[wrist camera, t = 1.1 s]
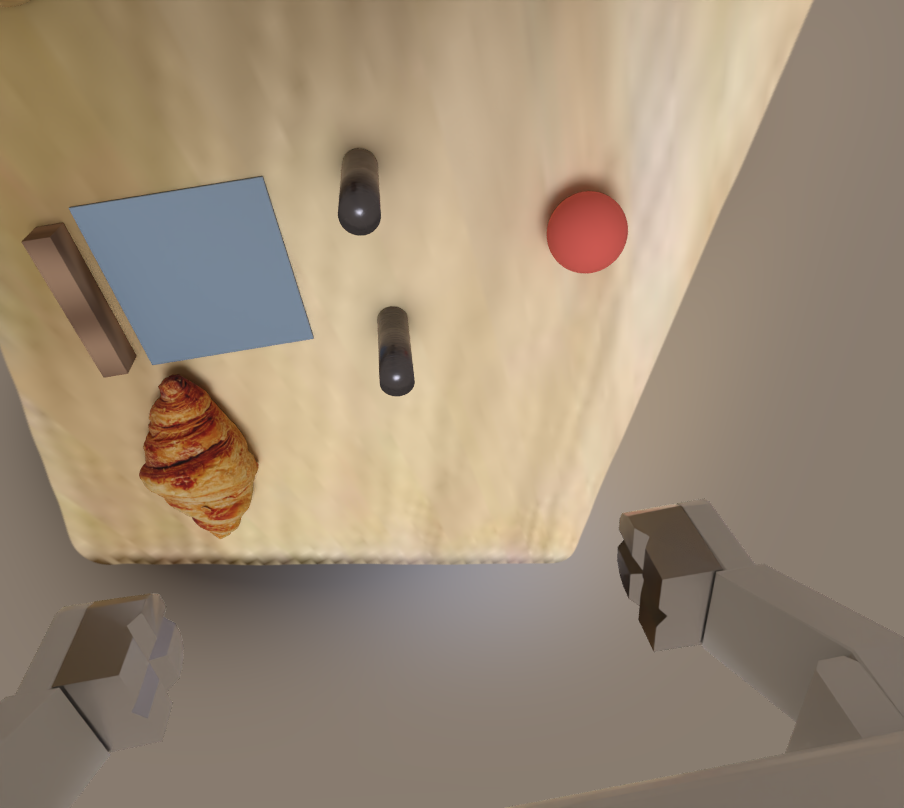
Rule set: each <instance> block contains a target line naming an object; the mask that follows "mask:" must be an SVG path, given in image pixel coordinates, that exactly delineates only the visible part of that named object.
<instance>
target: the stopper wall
mask: <svg viewBox="0 0 904 808" xmlns="http://www.w3.org/2000/svg"><path fill="white" fill-rule="evenodd" d="M22 244H23V245H24V247H25V249H26V250H27V252H28V253H29V255H30V257H31V258H32V260H33V262H34V263H35V265H36V267H37V268H38V270H39V272H40V273H41V275H42V277H43V278H44V280H45V282H46V283H47V285H48V286H49V288H50V290H51V291H52V293H53V295H54V296H55V298H56V300H57V301H58V303H59V305H60V306H61V308H62V310H63V311H64V313H65V315H66V316H67V318H68V319H69V321H70V323H71V324H72V326H73V328H74V329H75V331H76V333H77V334H78V336H79V338H80V339H81V341H82V343H83V344H84V346H85V348H86V349H87V351H88V353H89V354H90V356H91V357H92V359H93V361H94V362H95V364H96V366H97V367H98V369H99V371H100V372H101V374H102V376H103V377H110V376H116V375H122V374H128V372H129V370H130V368H131V366H132V364H133V362H134V360H135V358H136V355H135V353H134V351H133V349H132V347H131V345H130V344H129V342H128V340H127V338H126V336H125V335H124V333H123V331H122V329H121V327H120V325H119V324H118V322H117V320H116V318H115V316H114V314H113V313H112V311H111V309H110V307H109V305H108V304H107V302H106V300H105V298H104V296H103V294H102V293H101V291H100V289H99V287H98V285H97V283H96V282H95V280H94V278H93V276H92V274H91V273H90V271H89V269H88V267H87V265H86V263H85V262H84V260H83V258H82V256H81V254H80V252H79V251H78V249H77V247H76V245H75V243H74V241H73V240H72V238H71V236H70V234H69V232H68V231H67V229H66V227H65V225H64V223H59V224H53V225H46V226H40V227H36V228H35V229H34V230H33V231H32V232H31V233H30V234H29V235H28V236H27V237H26V238H25V239H24V240H23V241H22Z"/></svg>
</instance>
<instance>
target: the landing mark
mask: <svg viewBox="0 0 904 808" xmlns="http://www.w3.org/2000/svg"><path fill="white" fill-rule="evenodd" d="M69 210H70V212H71V213H72V215H73V217H74V219H75V221H76V223H77V225H78V227H79V228H80V230H81V232H82V234H83V236H84V238H85V240H86V242H87V243H88V245H89V247H90V249H91V251H92V253H93V255H94V257H95V258H96V260H97V262H98V264H99V266H100V268H101V270H102V272H103V273H104V275H105V277H106V279H107V281H108V283H109V285H110V287H111V288H112V290H113V292H114V294H115V296H116V298H117V300H118V302H119V303H120V305H121V307H122V309H123V311H124V313H125V315H126V316H127V318H128V320H129V322H130V324H131V326H132V328H133V330H134V331H135V333H136V335H137V337H138V339H139V341H140V343H141V345H142V346H143V348H144V350H145V352H146V354H147V356H148V358H149V360H150V361H151V363H152V365H157V364H163V363H169V362H175V361H181V360H187V359H193V358H199V357H205V356H211V355H217V354H223V353H230V352H236V351H242V350H248V349H254V348H260V347H266V346H272V345H278V344H284V343H290V342H296V341H302V340H309V339H314V337H313V334H312V331H311V327H310V324H309V321H308V318H307V315H306V312H305V309H304V305H303V302H302V299H301V296H300V293H299V290H298V286H297V283H296V280H295V277H294V274H293V271H292V267H291V264H290V261H289V258H288V255H287V252H286V248H285V245H284V242H283V239H282V236H281V233H280V229H279V226H278V223H277V220H276V217H275V214H274V210H273V207H272V204H271V201H270V198H269V195H268V191H267V188H266V185H265V182H264V179H263V176H260V177H254V178H248V179H242V180H235V181H229V182H223V183H217V184H211V185H205V186H198V187H192V188H186V189H180V190H174V191H168V192H161V193H155V194H149V195H143V196H137V197H130V198H124V199H118V200H112V201H106V202H100V203H93V204H87V205H81V206H75V207H70V208H69Z"/></svg>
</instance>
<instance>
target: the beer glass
mask: <svg viewBox="0 0 904 808" xmlns="http://www.w3.org/2000/svg"><path fill="white" fill-rule="evenodd" d="M28 1H30V0H0V7H14V6H19V5H22V4H25V3H27V2H28Z"/></svg>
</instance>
